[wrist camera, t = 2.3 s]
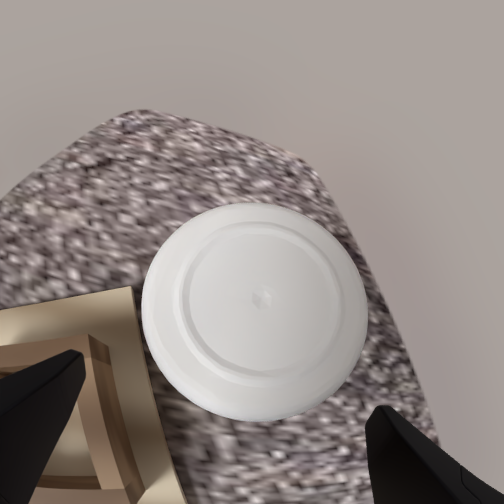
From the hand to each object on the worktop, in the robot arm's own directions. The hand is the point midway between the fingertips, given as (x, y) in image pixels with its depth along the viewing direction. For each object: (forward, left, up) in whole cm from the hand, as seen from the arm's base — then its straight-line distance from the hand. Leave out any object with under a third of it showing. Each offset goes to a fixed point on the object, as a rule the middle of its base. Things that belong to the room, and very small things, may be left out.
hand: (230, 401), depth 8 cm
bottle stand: (0, +10, -10) cm, 14 cm away
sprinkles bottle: (+2, -1, -10) cm, 10 cm away
